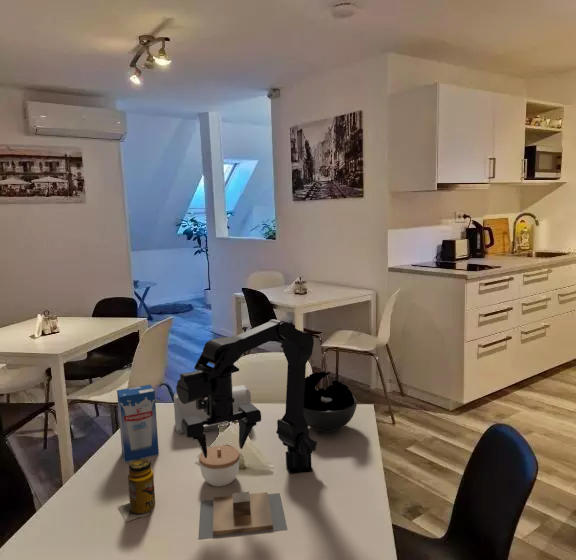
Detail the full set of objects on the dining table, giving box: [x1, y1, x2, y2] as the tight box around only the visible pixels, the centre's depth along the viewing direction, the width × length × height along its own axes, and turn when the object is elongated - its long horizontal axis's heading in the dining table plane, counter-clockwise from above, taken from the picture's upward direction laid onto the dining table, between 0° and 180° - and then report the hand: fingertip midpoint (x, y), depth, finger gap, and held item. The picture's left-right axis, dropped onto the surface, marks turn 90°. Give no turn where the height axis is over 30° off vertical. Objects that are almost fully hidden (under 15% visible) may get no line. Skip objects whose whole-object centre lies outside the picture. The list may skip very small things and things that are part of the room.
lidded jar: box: [198, 445, 241, 487], centre depth 137 cm, size 11×11×9 cm
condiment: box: [117, 458, 156, 523], centre depth 126 cm, size 7×8×12 cm
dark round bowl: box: [304, 371, 358, 433], centre depth 167 cm, size 20×20×19 cm
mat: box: [197, 492, 288, 540], centre depth 123 cm, size 20×15×1 cm
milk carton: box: [116, 384, 160, 463], centre depth 153 cm, size 10×6×20 cm, turn 115°
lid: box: [212, 491, 273, 536], centre depth 122 cm, size 14×14×4 cm
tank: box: [173, 384, 252, 435], centre depth 170 cm, size 25×16×12 cm, turn 105°
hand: (223, 452), depth 126 cm, fingers open, 9 cm apart
